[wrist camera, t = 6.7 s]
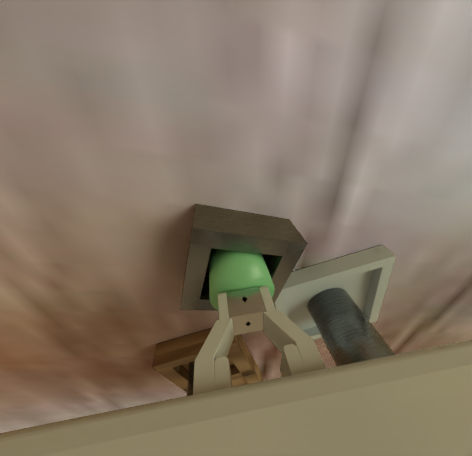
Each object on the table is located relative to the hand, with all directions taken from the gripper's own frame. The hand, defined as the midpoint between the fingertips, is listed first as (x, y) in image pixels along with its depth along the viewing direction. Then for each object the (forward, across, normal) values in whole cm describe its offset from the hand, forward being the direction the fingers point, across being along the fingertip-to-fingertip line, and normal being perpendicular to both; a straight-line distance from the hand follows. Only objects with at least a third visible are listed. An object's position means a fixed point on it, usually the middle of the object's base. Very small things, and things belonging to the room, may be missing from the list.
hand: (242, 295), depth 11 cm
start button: (+4, 0, 0) cm, 4 cm away
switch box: (+4, 0, 0) cm, 4 cm away
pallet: (+4, +4, +19) cm, 20 cm away
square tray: (+4, -9, +8) cm, 13 cm away
